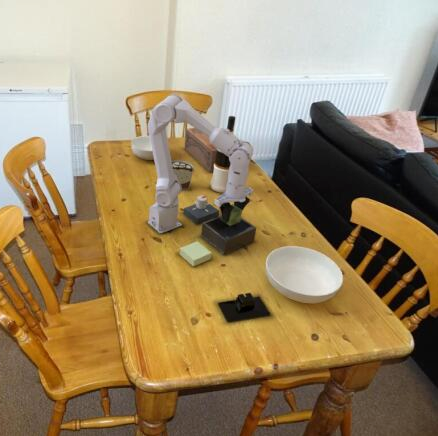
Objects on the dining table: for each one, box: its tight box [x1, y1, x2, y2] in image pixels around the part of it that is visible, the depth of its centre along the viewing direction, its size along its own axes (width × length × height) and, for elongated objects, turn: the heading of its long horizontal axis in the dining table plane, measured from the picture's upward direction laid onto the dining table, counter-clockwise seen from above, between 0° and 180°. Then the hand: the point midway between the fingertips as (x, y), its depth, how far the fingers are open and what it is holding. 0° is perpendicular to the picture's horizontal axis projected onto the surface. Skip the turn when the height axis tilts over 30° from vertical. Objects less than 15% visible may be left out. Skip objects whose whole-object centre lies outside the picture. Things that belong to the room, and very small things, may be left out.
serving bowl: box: [265, 245, 344, 304], centre depth 117 cm, size 21×21×7 cm
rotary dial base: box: [182, 200, 220, 225], centre depth 149 cm, size 10×9×3 cm
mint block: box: [179, 241, 212, 267], centre depth 128 cm, size 7×7×2 cm
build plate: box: [217, 292, 271, 324], centre depth 110 cm, size 12×7×5 cm, turn 104°
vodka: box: [209, 115, 240, 194], centre depth 158 cm, size 9×9×30 cm
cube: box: [220, 203, 243, 226], centre depth 132 cm, size 4×4×4 cm
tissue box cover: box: [184, 127, 217, 173], centre depth 187 cm, size 26×14×10 cm, turn 21°
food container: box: [171, 159, 195, 191], centre depth 164 cm, size 12×6×10 cm, turn 84°
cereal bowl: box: [130, 135, 154, 161], centre depth 186 cm, size 17×17×7 cm
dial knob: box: [195, 195, 208, 209], centre depth 148 cm, size 4×4×4 cm
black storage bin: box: [200, 215, 257, 256], centre depth 136 cm, size 13×11×6 cm
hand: (230, 218), depth 132 cm, fingers closed on cube, 4 cm apart
